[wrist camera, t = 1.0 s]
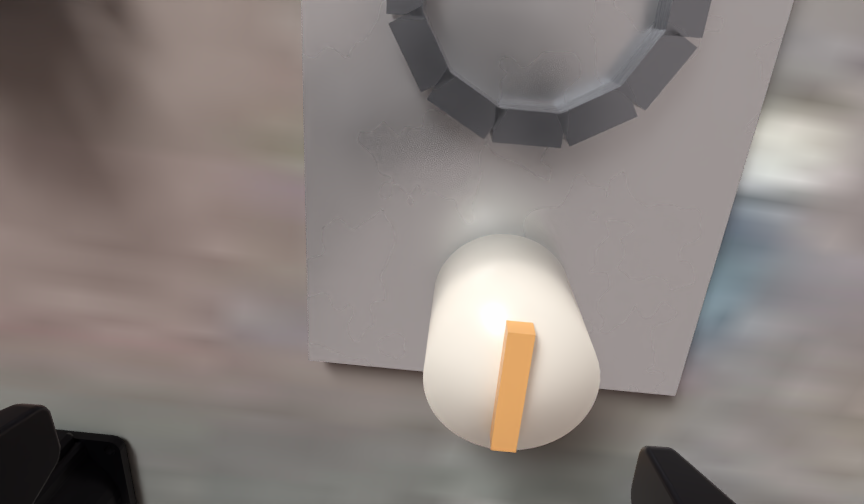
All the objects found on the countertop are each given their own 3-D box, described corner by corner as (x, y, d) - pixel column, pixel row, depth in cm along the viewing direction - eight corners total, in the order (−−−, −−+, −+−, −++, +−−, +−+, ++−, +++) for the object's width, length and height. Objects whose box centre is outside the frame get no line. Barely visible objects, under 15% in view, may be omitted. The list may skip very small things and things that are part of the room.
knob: (557, 359, 21) (587, 474, 15) (429, 347, 21) (416, 456, 16) (580, 240, 19) (622, 325, 14) (439, 227, 19) (427, 307, 14)
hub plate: (664, 376, 22) (686, 417, 20) (316, 343, 22) (299, 378, 20) (823, -177, 15) (884, -210, 13) (309, -211, 15) (281, -249, 13)
